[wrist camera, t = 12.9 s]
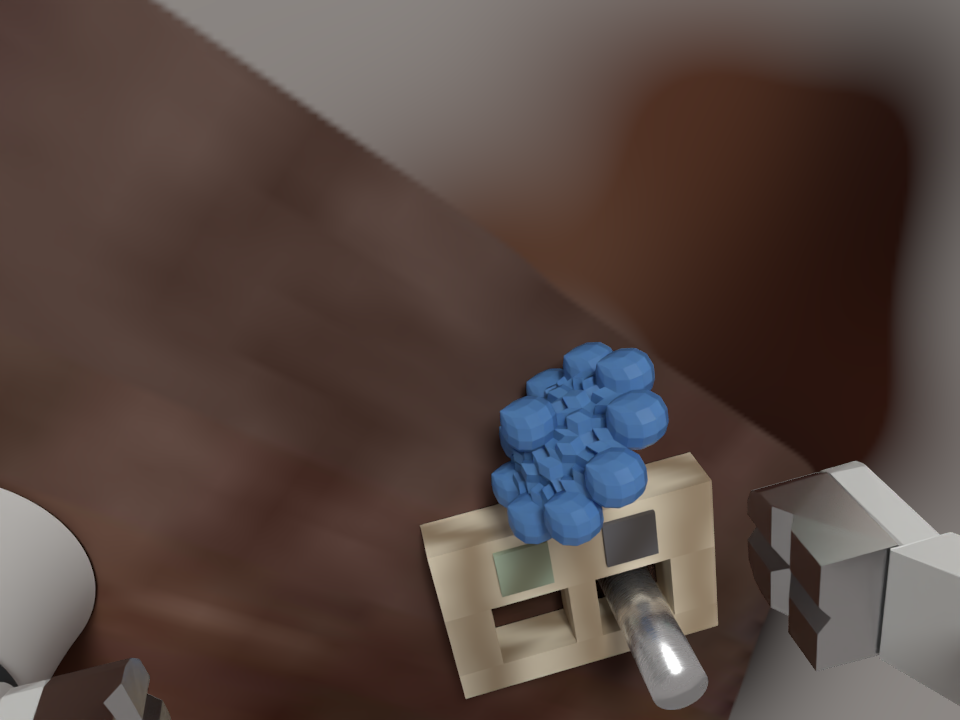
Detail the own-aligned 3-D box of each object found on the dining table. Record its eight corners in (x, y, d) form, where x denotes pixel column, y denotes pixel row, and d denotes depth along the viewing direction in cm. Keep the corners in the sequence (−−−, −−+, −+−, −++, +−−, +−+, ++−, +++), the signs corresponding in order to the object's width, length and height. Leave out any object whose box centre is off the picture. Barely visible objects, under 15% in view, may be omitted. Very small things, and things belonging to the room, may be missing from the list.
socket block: (457, 662, 55) (466, 702, 52) (420, 525, 49) (428, 562, 47) (698, 593, 57) (720, 628, 54) (690, 452, 51) (713, 483, 48)
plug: (597, 590, 55) (654, 716, 46) (592, 554, 53) (650, 677, 45) (643, 577, 55) (709, 699, 46) (639, 541, 54) (706, 660, 45)
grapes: (534, 263, 43) (612, 372, 33) (633, 317, 46) (735, 433, 35) (423, 437, 47) (461, 585, 36) (521, 477, 49) (583, 626, 39)
